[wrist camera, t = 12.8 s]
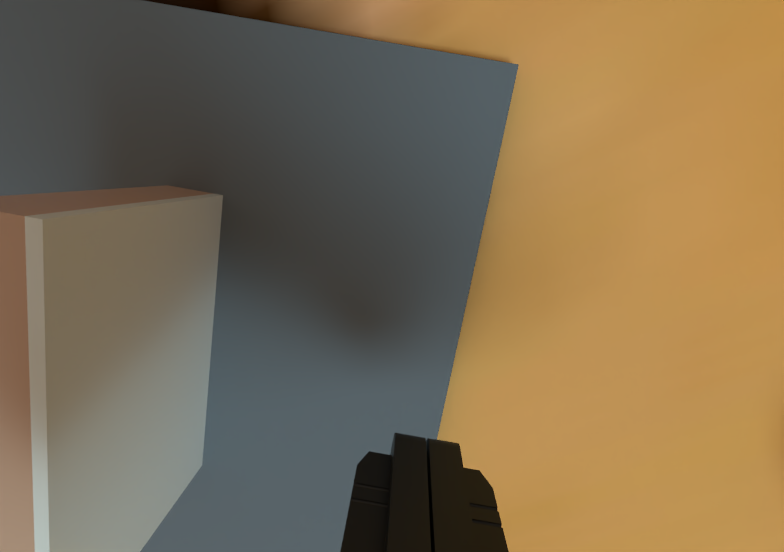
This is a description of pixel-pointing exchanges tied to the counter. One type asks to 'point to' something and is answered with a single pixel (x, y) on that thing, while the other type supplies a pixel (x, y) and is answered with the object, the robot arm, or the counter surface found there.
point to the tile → (102, 362)
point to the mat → (277, 228)
